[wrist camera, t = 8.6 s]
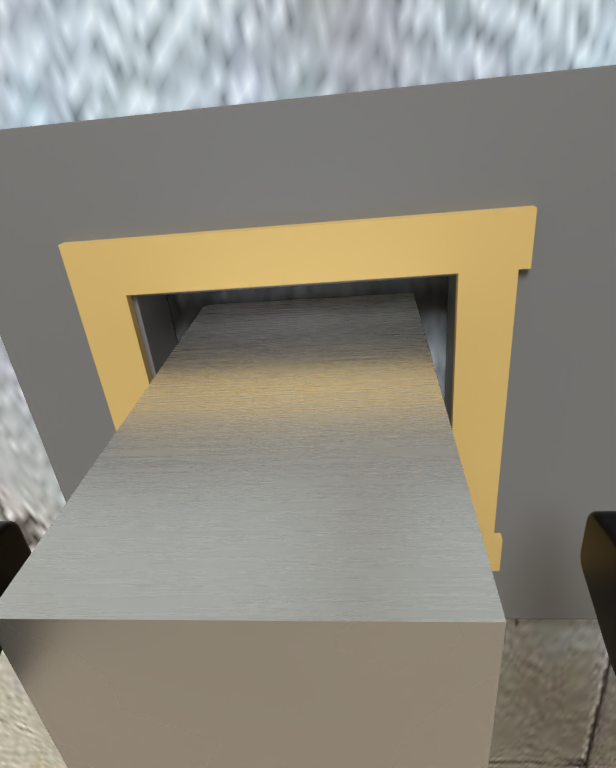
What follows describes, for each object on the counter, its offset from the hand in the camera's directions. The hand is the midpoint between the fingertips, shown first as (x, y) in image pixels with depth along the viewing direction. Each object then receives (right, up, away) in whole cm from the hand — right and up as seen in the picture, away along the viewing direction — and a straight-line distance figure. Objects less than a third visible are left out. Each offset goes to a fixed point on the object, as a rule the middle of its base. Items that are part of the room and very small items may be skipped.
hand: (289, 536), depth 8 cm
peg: (0, +2, +4) cm, 5 cm away
